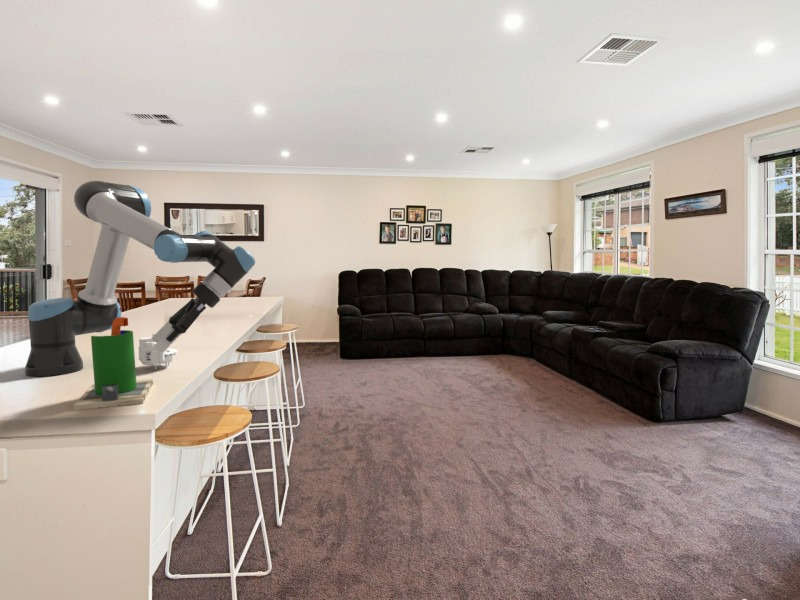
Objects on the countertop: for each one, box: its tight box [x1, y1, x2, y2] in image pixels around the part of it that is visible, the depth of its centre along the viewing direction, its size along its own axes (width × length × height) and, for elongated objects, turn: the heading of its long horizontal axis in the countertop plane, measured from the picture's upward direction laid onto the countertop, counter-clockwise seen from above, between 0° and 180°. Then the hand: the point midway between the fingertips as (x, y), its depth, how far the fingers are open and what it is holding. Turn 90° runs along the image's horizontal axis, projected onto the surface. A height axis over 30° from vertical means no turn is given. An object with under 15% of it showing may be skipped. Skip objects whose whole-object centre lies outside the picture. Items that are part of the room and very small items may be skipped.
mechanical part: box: [138, 332, 179, 370], centre depth 156 cm, size 11×12×12 cm
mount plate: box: [73, 378, 154, 411], centre depth 126 cm, size 21×15×1 cm
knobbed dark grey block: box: [102, 383, 119, 401], centre depth 118 cm, size 3×3×4 cm
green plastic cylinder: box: [90, 316, 137, 395], centre depth 125 cm, size 10×9×20 cm
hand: (156, 345), depth 129 cm, fingers open, 13 cm apart
